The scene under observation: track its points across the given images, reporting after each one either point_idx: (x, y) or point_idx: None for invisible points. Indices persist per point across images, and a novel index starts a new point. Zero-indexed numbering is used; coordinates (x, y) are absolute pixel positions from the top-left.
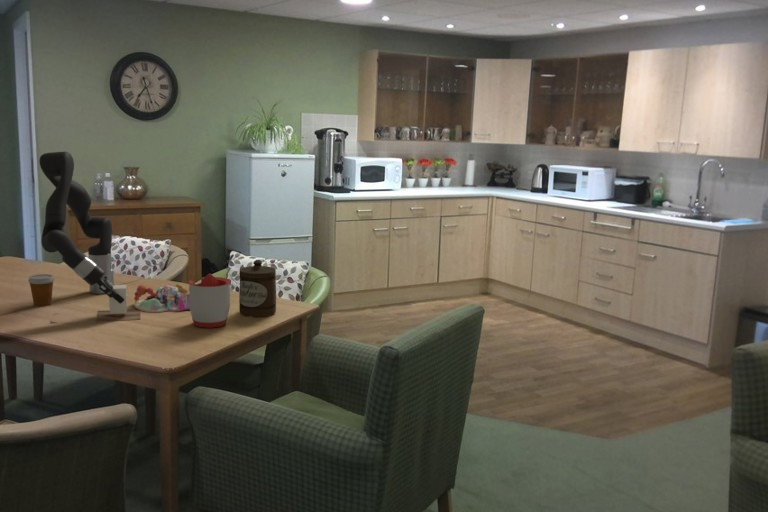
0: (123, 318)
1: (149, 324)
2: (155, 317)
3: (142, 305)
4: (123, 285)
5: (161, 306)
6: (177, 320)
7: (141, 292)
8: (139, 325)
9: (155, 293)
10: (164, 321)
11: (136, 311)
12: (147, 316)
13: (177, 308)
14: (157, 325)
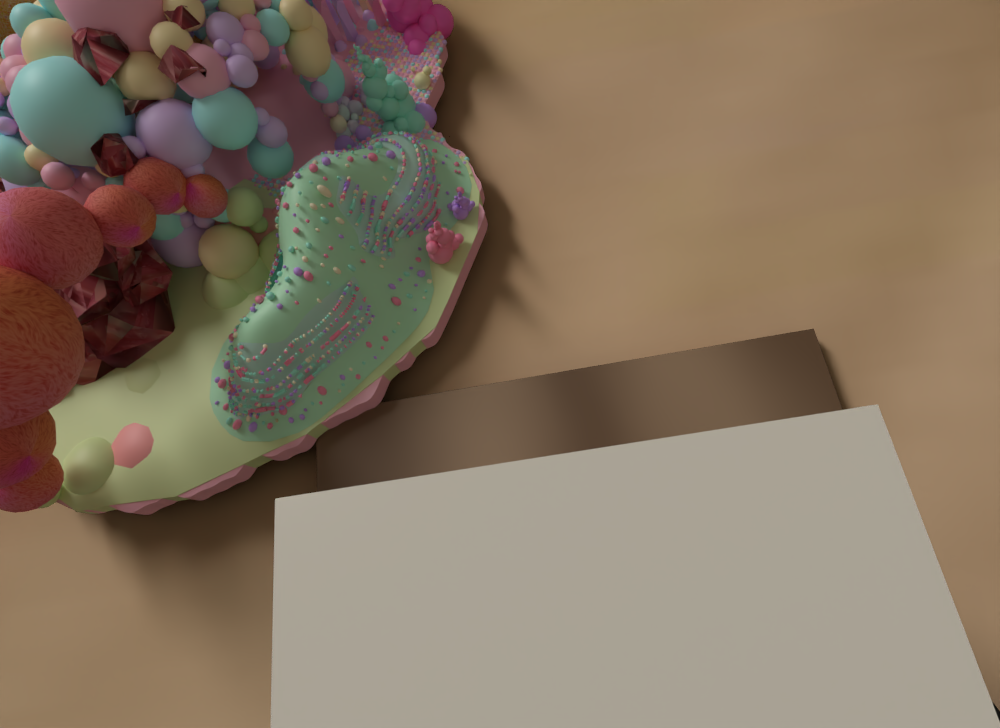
0: None
1: (925, 222)
2: (624, 218)
3: (322, 367)
4: (391, 588)
5: (424, 150)
6: (729, 23)
7: (70, 349)
8: (995, 316)
9: (134, 177)
10: (778, 113)
11: (423, 439)
12: (583, 301)
13: (424, 46)
14: (951, 142)
